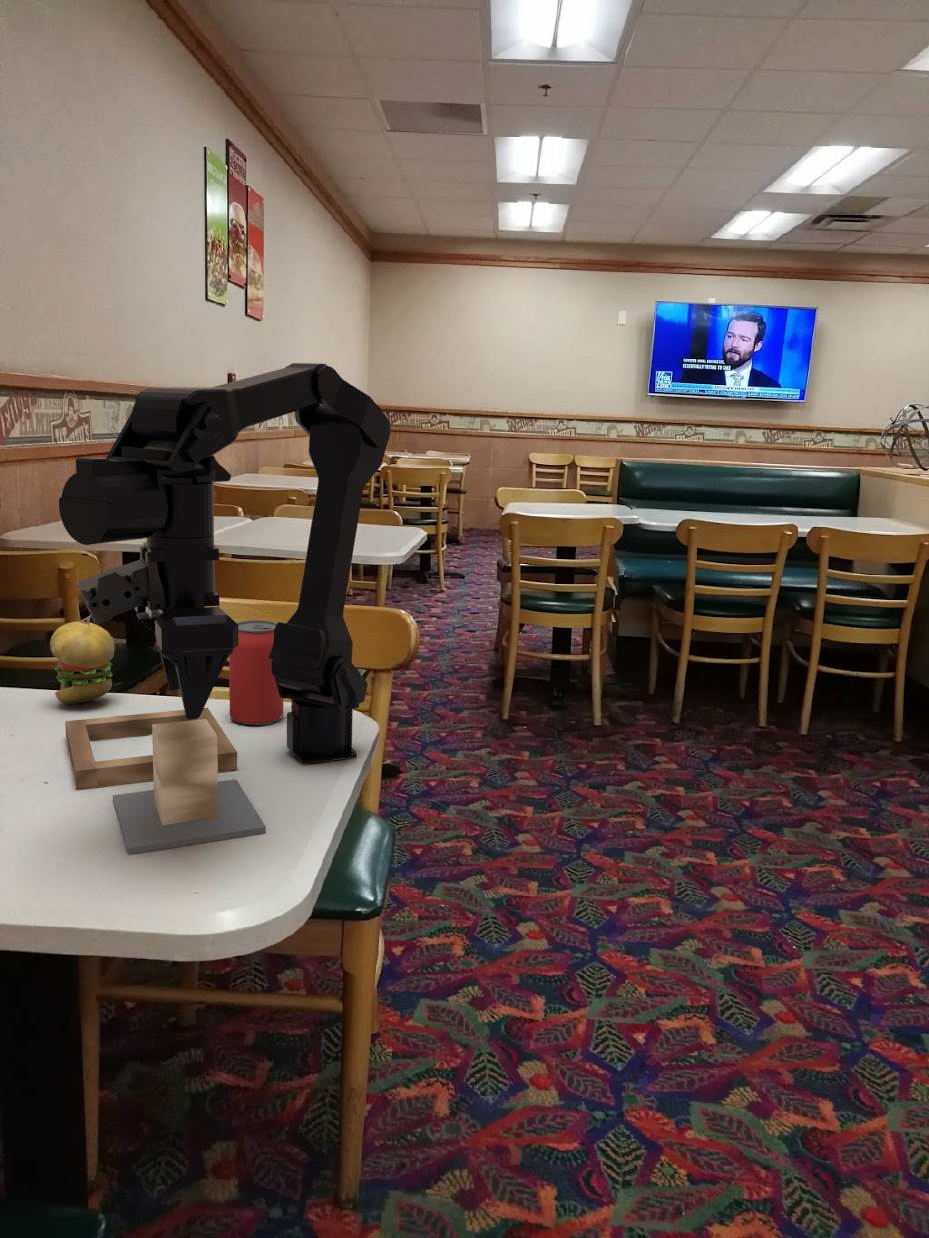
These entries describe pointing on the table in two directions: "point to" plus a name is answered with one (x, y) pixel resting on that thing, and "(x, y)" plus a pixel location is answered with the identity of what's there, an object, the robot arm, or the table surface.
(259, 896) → the table surface
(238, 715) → the beer can
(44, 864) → the table surface
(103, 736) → the wooden frame
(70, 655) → the hamburger
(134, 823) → the rubber mat
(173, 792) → the maple block
